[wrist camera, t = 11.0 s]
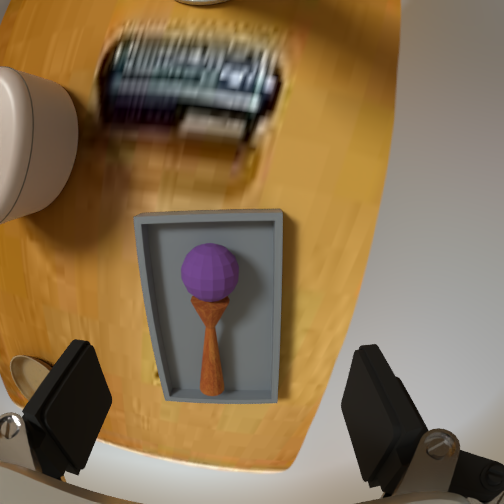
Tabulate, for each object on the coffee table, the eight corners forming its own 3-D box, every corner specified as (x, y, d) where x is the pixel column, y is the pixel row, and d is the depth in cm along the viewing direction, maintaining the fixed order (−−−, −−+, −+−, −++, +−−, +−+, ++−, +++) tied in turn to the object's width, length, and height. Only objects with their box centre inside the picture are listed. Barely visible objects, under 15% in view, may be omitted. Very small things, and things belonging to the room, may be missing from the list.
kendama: (183, 397, 35) (170, 251, 28) (197, 368, 40) (193, 233, 33) (228, 407, 34) (232, 259, 27) (238, 376, 39) (245, 239, 32)
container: (-12, 118, 28) (-66, 118, 17) (74, 57, 27) (19, 31, 15) (9, 228, 33) (-46, 251, 22) (99, 185, 32) (40, 198, 20)
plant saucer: (49, 412, 44) (44, 420, 41) (6, 355, 40) (-1, 362, 37) (94, 406, 42) (89, 416, 40) (44, 340, 38) (36, 348, 36)
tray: (141, 212, 33) (133, 216, 30) (280, 208, 33) (282, 212, 30) (169, 388, 40) (165, 400, 37) (275, 390, 40) (277, 402, 37)
